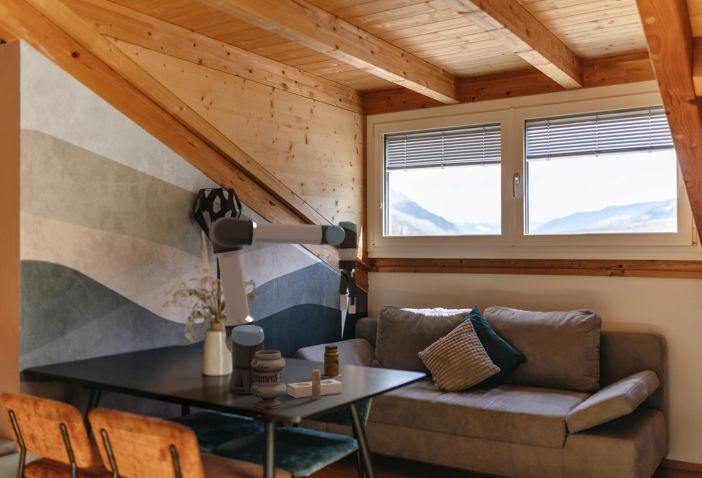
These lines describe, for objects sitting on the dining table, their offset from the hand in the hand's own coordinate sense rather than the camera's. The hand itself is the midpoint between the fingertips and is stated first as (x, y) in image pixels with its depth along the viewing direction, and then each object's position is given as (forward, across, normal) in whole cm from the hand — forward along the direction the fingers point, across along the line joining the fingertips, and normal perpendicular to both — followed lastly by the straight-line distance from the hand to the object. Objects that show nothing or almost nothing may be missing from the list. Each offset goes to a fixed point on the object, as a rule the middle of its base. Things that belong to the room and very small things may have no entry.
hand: (347, 312), depth 290 cm
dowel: (+26, -37, +21) cm, 50 cm away
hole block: (+26, -28, +19) cm, 43 cm away
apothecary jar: (+27, -42, +38) cm, 63 cm away
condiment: (+26, +4, +7) cm, 27 cm away
